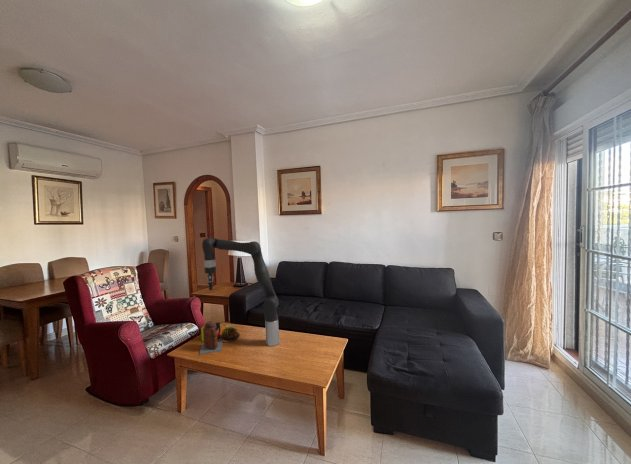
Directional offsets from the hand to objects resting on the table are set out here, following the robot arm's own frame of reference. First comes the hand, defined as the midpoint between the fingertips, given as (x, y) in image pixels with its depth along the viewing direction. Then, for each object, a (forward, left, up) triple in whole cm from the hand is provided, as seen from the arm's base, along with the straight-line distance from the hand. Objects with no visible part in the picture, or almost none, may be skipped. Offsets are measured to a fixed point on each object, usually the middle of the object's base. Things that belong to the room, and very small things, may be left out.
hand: (211, 288), depth 182 cm
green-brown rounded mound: (-11, -5, -41) cm, 42 cm away
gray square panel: (+1, +8, -40) cm, 41 cm away
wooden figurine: (+1, +8, -39) cm, 40 cm away
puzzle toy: (+2, -9, -40) cm, 41 cm away
